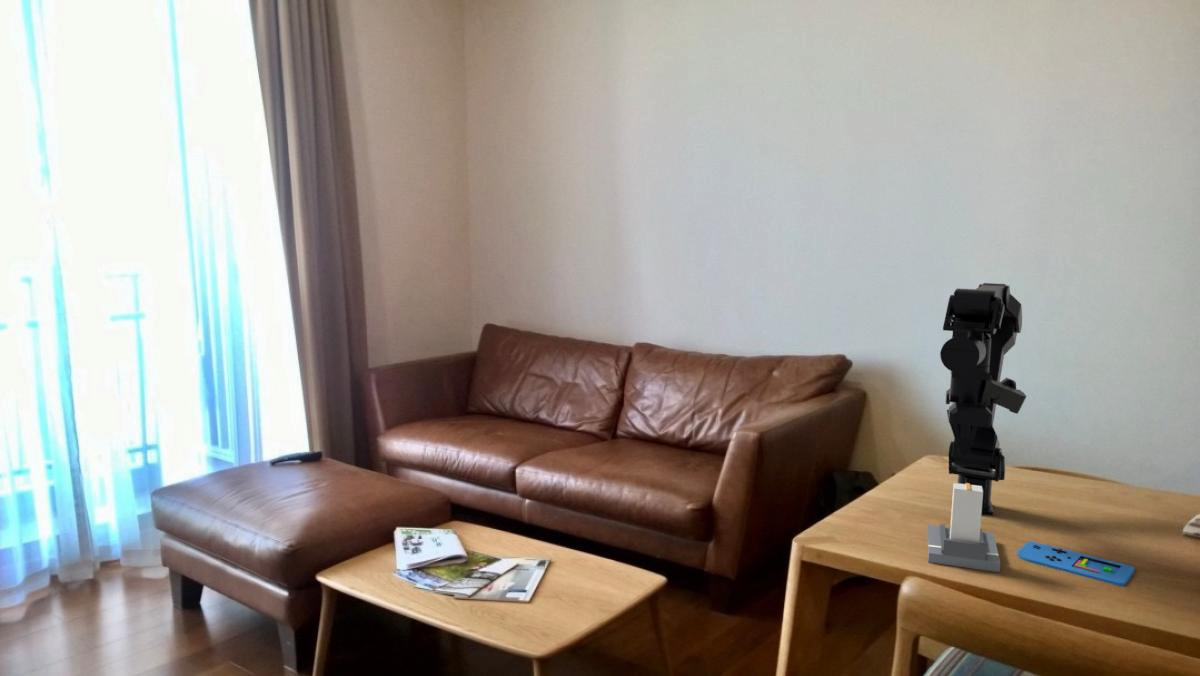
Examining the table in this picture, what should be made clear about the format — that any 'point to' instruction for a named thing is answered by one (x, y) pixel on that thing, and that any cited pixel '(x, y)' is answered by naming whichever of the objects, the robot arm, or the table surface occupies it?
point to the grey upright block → (966, 512)
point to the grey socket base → (962, 550)
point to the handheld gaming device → (1076, 563)
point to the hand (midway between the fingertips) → (963, 455)
